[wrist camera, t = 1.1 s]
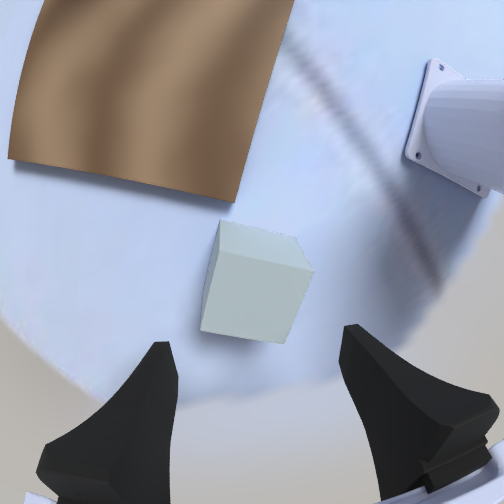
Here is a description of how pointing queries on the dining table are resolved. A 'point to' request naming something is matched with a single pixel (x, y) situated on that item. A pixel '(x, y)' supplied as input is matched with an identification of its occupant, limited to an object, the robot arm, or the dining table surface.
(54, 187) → the dining table surface
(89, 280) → the dining table surface
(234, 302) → the pale blue-gray cube
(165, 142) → the brown wooden board
